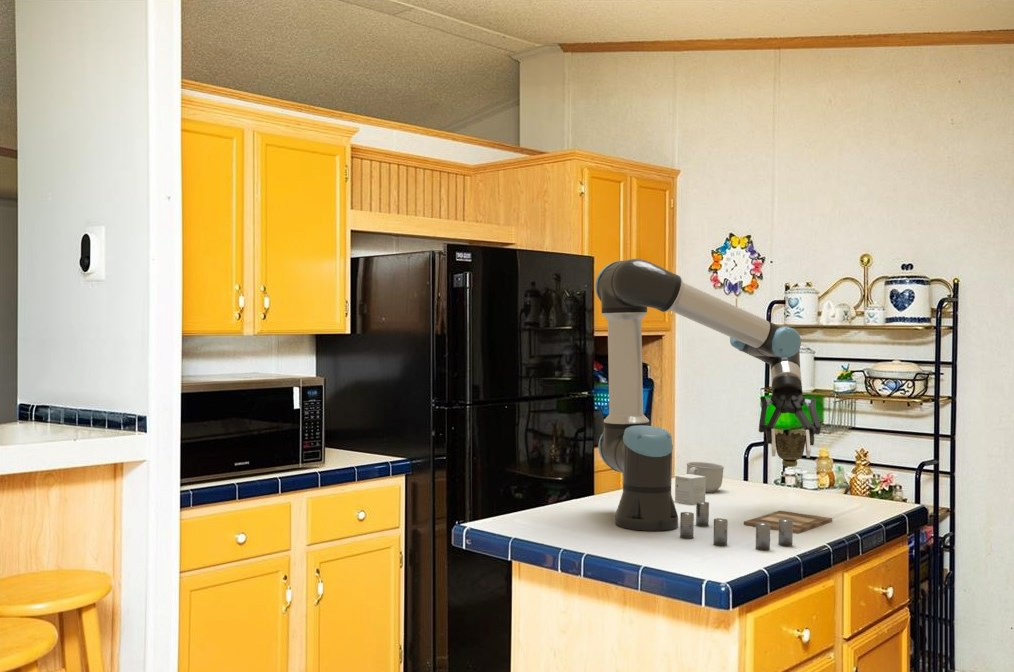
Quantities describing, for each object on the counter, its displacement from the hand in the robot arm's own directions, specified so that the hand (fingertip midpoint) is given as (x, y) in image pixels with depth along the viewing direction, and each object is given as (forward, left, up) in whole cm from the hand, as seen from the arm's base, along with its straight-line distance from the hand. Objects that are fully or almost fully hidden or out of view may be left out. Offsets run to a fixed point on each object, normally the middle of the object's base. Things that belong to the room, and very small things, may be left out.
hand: (791, 453), depth 236 cm
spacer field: (-21, -8, -18) cm, 29 cm away
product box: (-10, +34, -18) cm, 40 cm away
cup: (+1, +3, -4) cm, 5 cm away
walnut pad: (+2, +3, -18) cm, 18 cm away
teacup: (+1, +50, -18) cm, 54 cm away
